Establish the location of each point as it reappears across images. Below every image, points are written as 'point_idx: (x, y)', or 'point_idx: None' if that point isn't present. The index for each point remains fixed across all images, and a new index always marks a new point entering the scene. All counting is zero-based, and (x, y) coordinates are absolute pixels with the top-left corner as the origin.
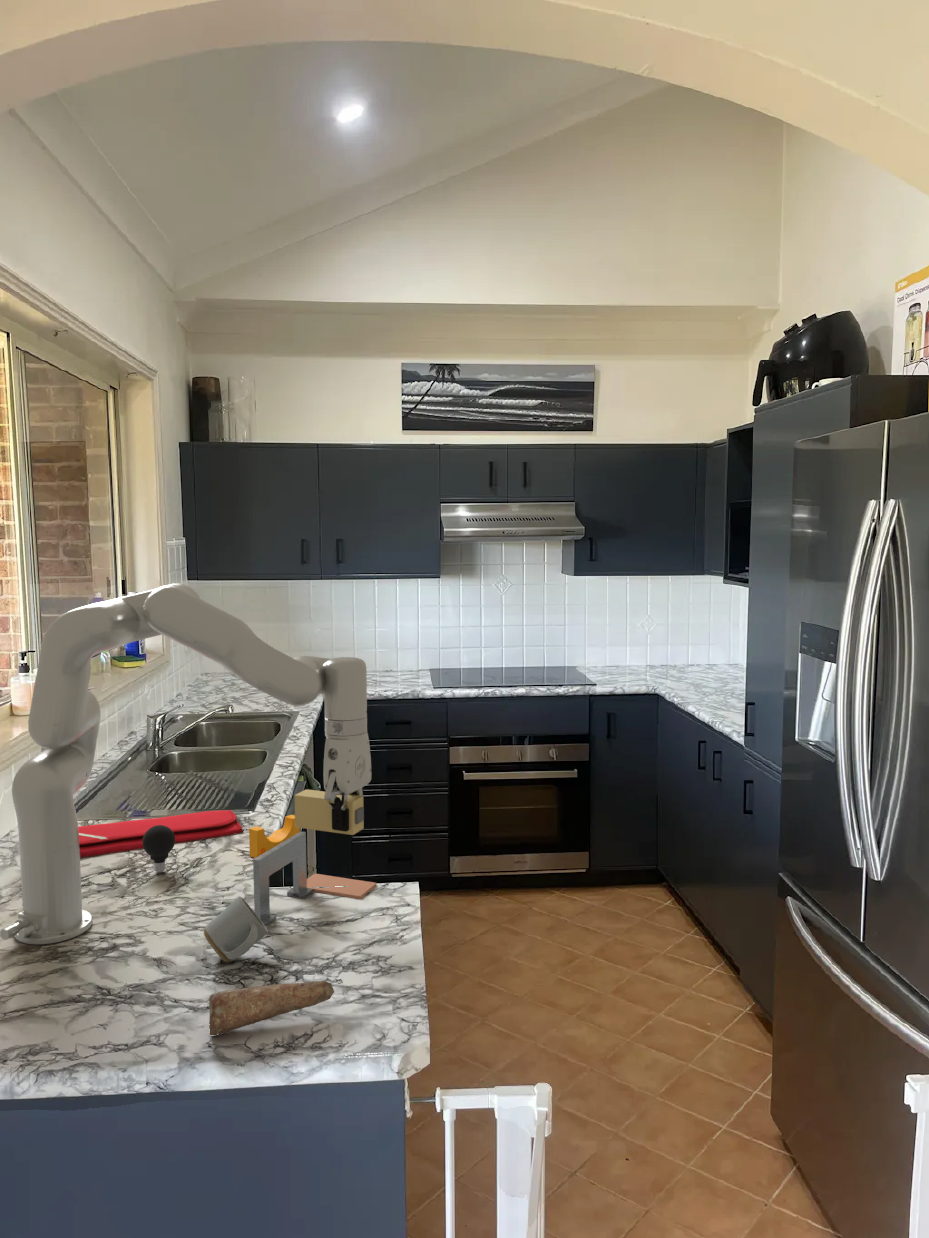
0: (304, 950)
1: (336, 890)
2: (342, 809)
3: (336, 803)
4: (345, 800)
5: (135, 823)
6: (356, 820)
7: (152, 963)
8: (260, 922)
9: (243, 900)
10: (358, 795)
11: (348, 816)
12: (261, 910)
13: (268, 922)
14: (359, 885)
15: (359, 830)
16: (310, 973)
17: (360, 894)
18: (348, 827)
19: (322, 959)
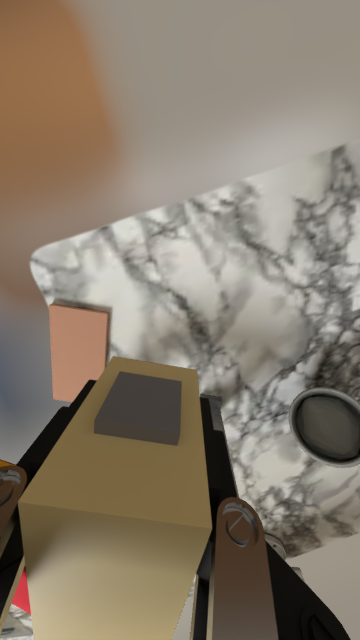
0: (283, 333)
1: (98, 353)
2: (250, 515)
3: (332, 616)
4: (247, 590)
5: (20, 600)
6: (180, 396)
7: (318, 464)
8: (293, 407)
9: (312, 454)
10: (10, 527)
11: (205, 445)
12: (219, 418)
13: (219, 399)
14: (68, 327)
15: (146, 362)
16: (349, 303)
17: (100, 315)
18: (203, 403)
19: (309, 301)
